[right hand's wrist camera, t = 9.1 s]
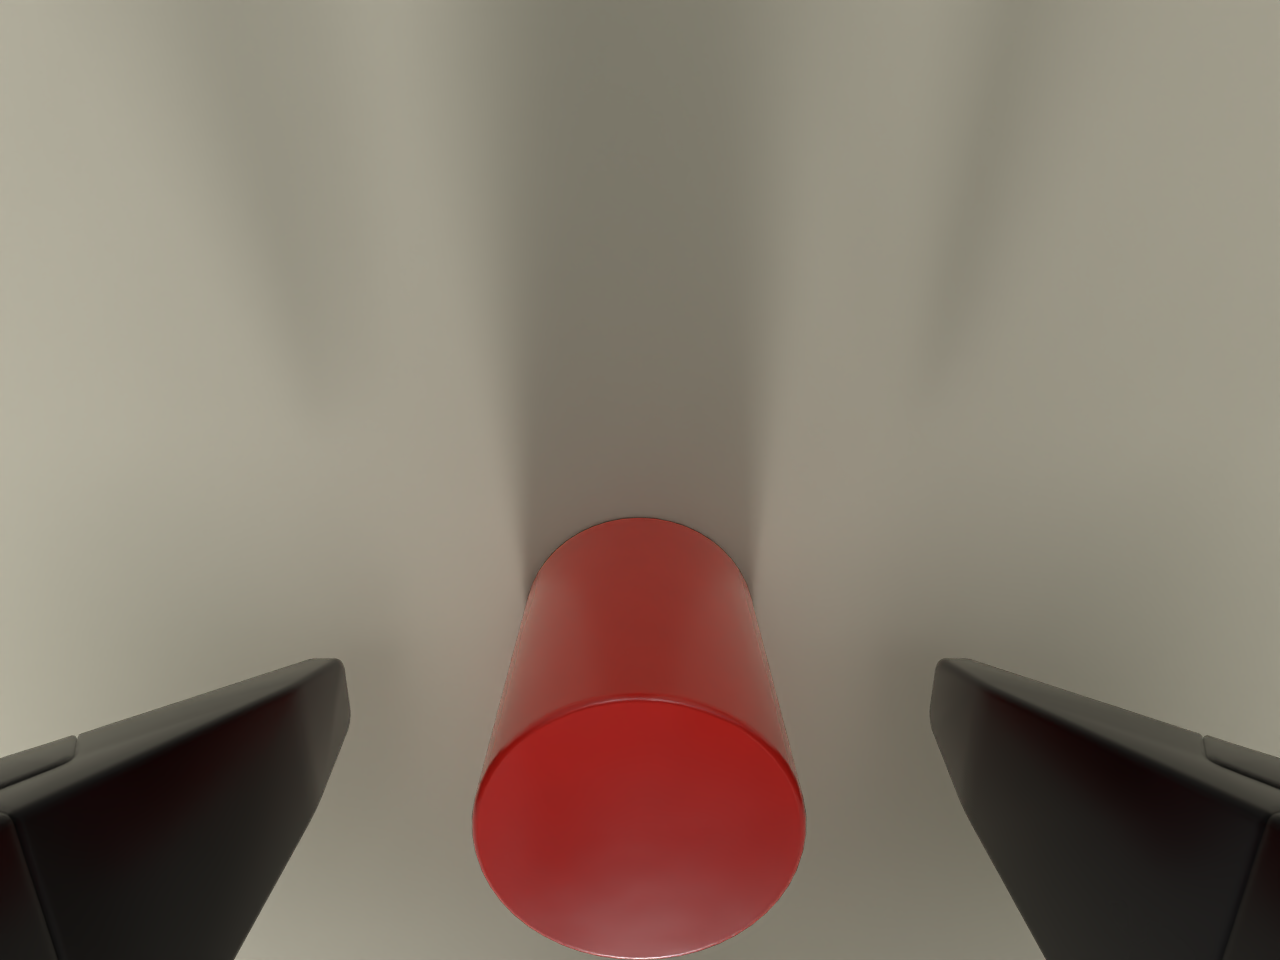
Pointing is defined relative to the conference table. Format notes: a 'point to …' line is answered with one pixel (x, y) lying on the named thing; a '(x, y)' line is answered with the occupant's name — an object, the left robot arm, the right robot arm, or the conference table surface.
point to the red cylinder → (639, 752)
